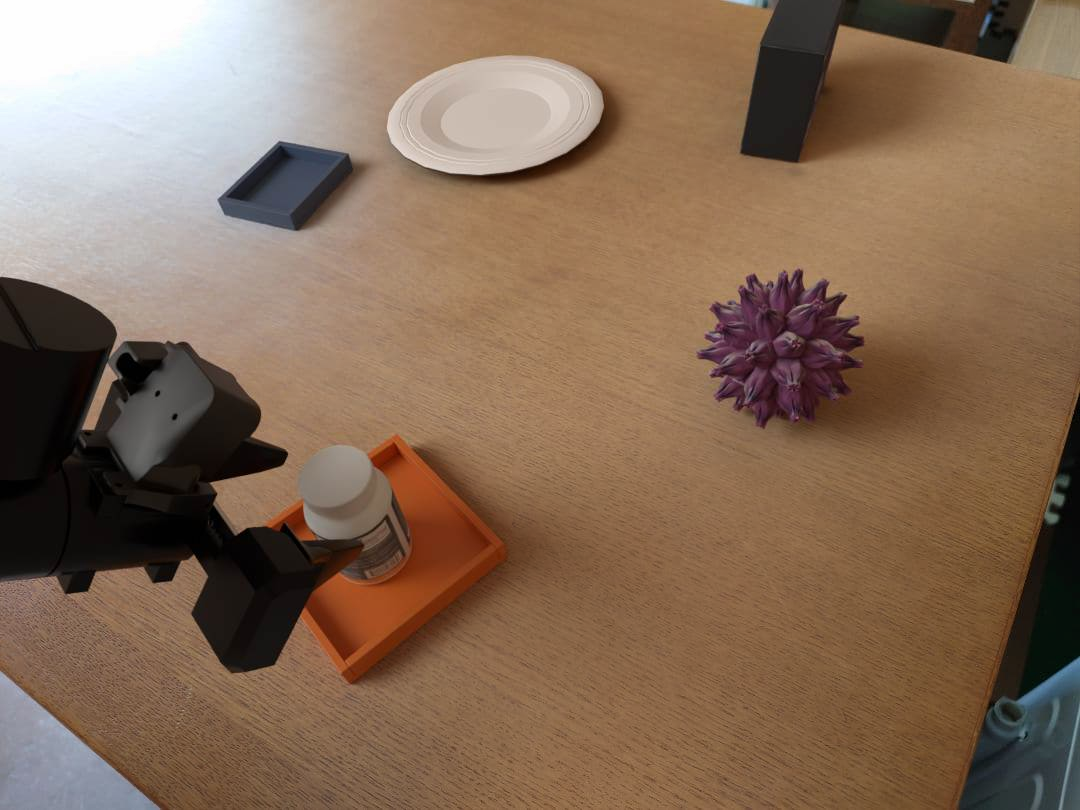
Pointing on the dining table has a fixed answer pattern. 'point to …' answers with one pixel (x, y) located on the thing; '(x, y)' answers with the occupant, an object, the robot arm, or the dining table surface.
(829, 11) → the box
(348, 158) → the blue tray
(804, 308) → the flower
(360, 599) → the orange tray
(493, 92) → the plate
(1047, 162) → the dining table surface
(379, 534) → the pill bottle
